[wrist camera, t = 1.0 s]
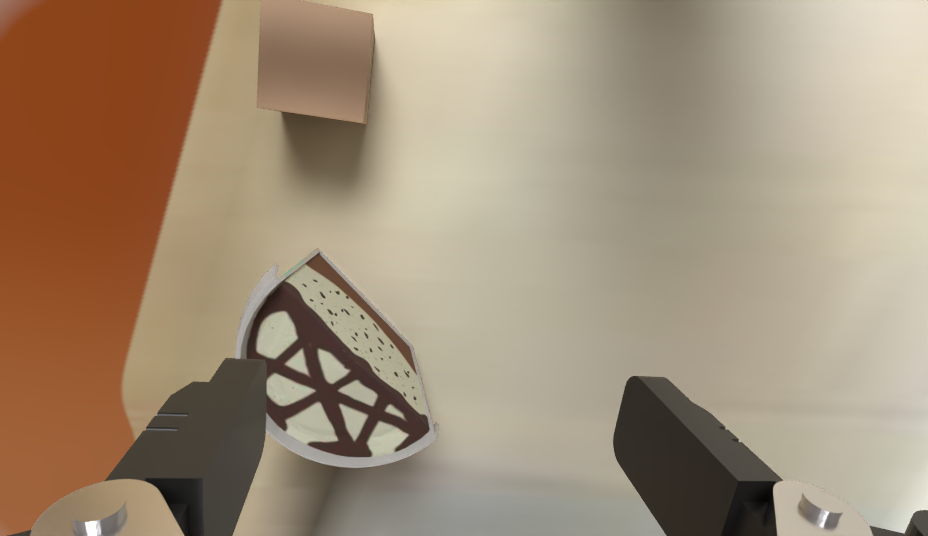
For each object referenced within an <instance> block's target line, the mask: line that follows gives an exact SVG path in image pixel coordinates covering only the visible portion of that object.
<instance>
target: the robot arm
mask: <svg viewBox="0 0 928 536" xmlns="http://www.w3.org/2000/svg"><path fill="white" fill-rule="evenodd" d="M266 397H267V365H266V361H265V360H260V359H236V358H226V359H225V360H224V361H223V362H222V364H221V365H220V367H219V368H218V370H217V371H216V373H215V374H214V376H213V377H212V379H211V380H210V382H192V383H190V384H189V385H187V386H185V387H184V388H182V389H181V390H179V391H177V392H176V393H174V394H172V395H171V396H170V397H169V398H168V400H167V401H166V402H165V404H164V405H163V406H162V408H161V409H160V410H159V411H158V414H157V416H155V417H154V418H153V419H152V420H151V422H150V423H149V424H148V426H147V427H146V431H143V432H142V433H141V435H140V436H139V437H138V439H137V440H136V441H135V442H134V444H133V445H132V446H131V448H130V449H129V450H128V452H127V453H126V454H125V455H124V457H123V458H122V459H121V461H120V462H119V463H118V464H117V466H116V467H115V468H114V470H113V471H112V472H111V474H110V475H109V476H108V478H107V479H106V480H105V481H104V482H100V483H96V484H93V485H90V486H87V487H85V488H82V489H79V490H77V491H75V492H73V493H71V494H69V495H67V496H65V497H64V498H62V499H60V500H59V501H57V502H56V503H55V504H53V505H52V506H50V507H49V508H48V509H47V510H46V511H45V512H44V513H43V514H42V515H41V516H40V517H39V518H38V520H37V521H36V522H35V524H34V526H33V528H32V530H29V531H25V532H21V533H18V534H14V535H9V536H232V535H233V532H234V530H235V527H236V524H237V522H238V519H239V516H240V513H241V511H242V508H243V505H244V503H245V500H246V497H247V494H248V492H249V489H250V486H251V484H252V481H253V478H254V475H255V473H256V470H257V467H258V465H259V462H260V459H261V456H262V452H263V447H264V441H265V433H266ZM613 445H614V452H615V456H616V459H617V461H618V463H619V465H620V466H621V468H622V469H623V471H624V472H625V474H626V475H627V477H628V478H629V480H630V481H631V483H632V484H633V486H634V487H635V489H636V490H637V492H638V493H639V495H640V496H641V498H642V499H643V501H644V502H645V504H646V505H647V507H648V508H649V510H650V511H651V513H652V514H653V516H654V517H655V519H656V520H657V522H658V523H659V525H660V526H661V528H662V529H663V531H664V532H665V534H666V535H667V536H928V510H920V511H917V512H915V513H914V514H913V516H912V518H911V520H910V523H909V525H908V527H907V529H906V531H905V534H903V533H899V532H894V531H890V530H886V529H881V528H877V527H873V526H869V524H868V522H867V521H866V520H865V518H864V517H863V516H862V515H861V514H860V513H859V512H858V511H857V510H856V509H855V508H853V507H852V506H851V505H850V504H848V503H847V502H845V501H844V500H842V499H841V498H839V497H837V496H836V495H834V494H832V493H830V492H828V491H826V490H824V489H822V488H819V487H817V486H814V485H811V484H808V483H804V482H800V481H793V480H785V481H783V480H782V479H781V478H780V477H779V476H778V475H777V474H776V473H775V472H774V471H773V470H771V469H770V468H769V467H768V466H767V465H766V464H765V463H764V462H763V461H762V460H761V459H759V458H758V457H757V456H756V455H755V454H754V453H753V452H752V451H751V450H750V449H749V448H748V447H746V446H745V445H744V444H743V443H742V442H739V441H738V438H737V437H736V436H734V435H733V434H732V433H731V432H730V431H729V430H725V426H724V425H723V424H721V423H720V422H719V421H718V420H717V419H716V418H715V417H714V416H713V415H712V414H711V413H709V412H708V411H706V410H705V409H703V408H701V407H700V406H698V405H696V404H694V403H693V402H691V401H690V400H689V399H688V398H687V397H686V396H685V395H684V394H683V393H682V392H681V391H680V390H679V389H678V388H677V387H675V386H674V385H673V384H672V383H671V382H670V381H669V380H668V379H667V378H664V377H646V376H632V377H630V378H629V380H628V381H627V383H626V386H625V390H624V394H623V398H622V402H621V407H620V411H619V415H618V419H617V423H616V427H615V432H614V438H613Z"/></svg>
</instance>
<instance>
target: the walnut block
mask: <svg viewBox="0 0 928 536" xmlns="http://www.w3.org/2000/svg"><path fill="white" fill-rule="evenodd" d="M374 39H375V33H374V22H373V14H370V13H365V12H360V11H354V10H349V9H344V8H338V7H333V6H328V5H323V4H317V3H312V2H307V1H301V0H261V9H260V36H259V62H258V89H257V108H263V109H269V110H275V111H281V112H288V113H295V114H301V115H308V116H315V117H322V118H328V119H335V120H342V121H349V122H355V123H362V124H367V117H368V106H369V95H370V84H371V72H372V61H373V50H374Z"/></svg>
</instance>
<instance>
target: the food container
mask: <svg viewBox="0 0 928 536" xmlns="http://www.w3.org/2000/svg"><path fill="white" fill-rule="evenodd" d="M277 270H278V265H277V264H275V265H274V266H273V267H272V268H271V269H270V270H269V271H268V272H267V273H266V274H265V275H264V276H263V277H262V278H261V280H260V281H259V283H258V284H257V285H256V287H255V288H254V290H253V291H252V293H251V295H250V297H249V299H248V301H247V303H246V305H245V307H244V310H243V313H242V317H241V320H240V324H239V328H238V335H237V342H236V354H235V358H236V359H260V360H265V361H266V365H267V397H266V432H267V433H268V434H269V435H271V436H272V437H273V438H274V439H275V440H276V441H277V442H279V443H280V444H282V445H283V446H284V447H286V448H287V449H289V450H290V451H292V452H294V453H296V454H298V455H300V456H302V457H304V458H307V459H310V460H313V461H316V462H318V463H321V464H327V465H332V466H337V467H350V468H361V467H374V466H379V465H384V464H388V463H392V462H395V461H398V460H401V459H404V458H407V457H409V456H411V455H413V454H415V453H417V452H419V451H421V450H423V449H424V448H426V447H427V446H429V445H430V444H431V443H433V442H434V441H436V437H437V436H438V426H439V424H438V423H437V422H436V423H435V424H434V425H433V423H432V419H431V415H430V411H429V407H428V403H427V399H426V395H425V392H424V388H423V384H422V380H421V376H420V372H419V368H418V364H417V360H416V356H415V353H414V349H413V346H412V345H411V344H410V343H409V342H408V341H407V340H406V339H405V338H404V337H403V336H402V335H401V334H400V332H399V331H398V330H397V329H396V328H395V327H394V326H393V325H392V324H391V323H390V322H389V321H388V320H387V319H386V318H385V317H384V316H383V315H382V314H381V313H380V312H379V311H378V310H377V309H376V308H375V307H374V306H373V305H372V303H371V302H370V301H369V300H368V299H367V298H366V297H365V296H364V295H363V294H362V293H361V292H360V291H359V290H358V289H357V288H356V287H355V286H354V285H353V284H352V283H351V282H350V281H349V280H348V279H347V278H346V277H345V276H344V275H343V273H342V272H341V271H340V270H339V269H338V268H337V267H336V266H335V265H334V264H333V263H332V262H331V261H330V260H329V259H328V258H327V257H326V256H325V255H324V254H323V253H322V252H321V251H320V250H319V249H317V250H315V251H314V252H313V253H311V254H310V255H309V256H308V257H306V258H305V259H304V260H302V261H301V262H300V263H299V264H297V265H296V266H295V267H293V268H292V269H291V270H290V271H288V272H287V273H286V274H284V275H283V276H282V277H281V278H279V279H278V278H277Z"/></svg>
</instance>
